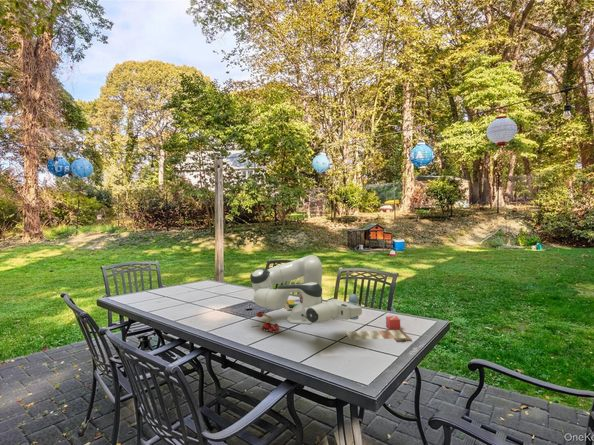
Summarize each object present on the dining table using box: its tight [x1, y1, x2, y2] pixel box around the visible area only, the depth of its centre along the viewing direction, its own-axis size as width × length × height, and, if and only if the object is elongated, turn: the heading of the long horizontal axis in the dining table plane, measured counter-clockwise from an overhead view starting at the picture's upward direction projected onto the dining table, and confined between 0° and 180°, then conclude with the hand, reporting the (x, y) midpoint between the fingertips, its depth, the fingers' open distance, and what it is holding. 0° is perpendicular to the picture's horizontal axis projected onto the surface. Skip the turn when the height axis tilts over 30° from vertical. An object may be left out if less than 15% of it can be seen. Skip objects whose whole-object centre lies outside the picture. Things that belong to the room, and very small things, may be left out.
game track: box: [345, 328, 413, 343], centre depth 177 cm, size 34×14×1 cm, turn 94°
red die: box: [385, 315, 401, 330], centre depth 190 cm, size 6×6×6 cm
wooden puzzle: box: [284, 298, 300, 312], centre depth 233 cm, size 18×19×4 cm
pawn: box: [348, 293, 359, 321], centre depth 176 cm, size 6×6×13 cm
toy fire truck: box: [256, 311, 280, 334], centre depth 187 cm, size 3×14×10 cm, turn 59°
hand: (354, 304), depth 176 cm, fingers closed on pawn, 4 cm apart
